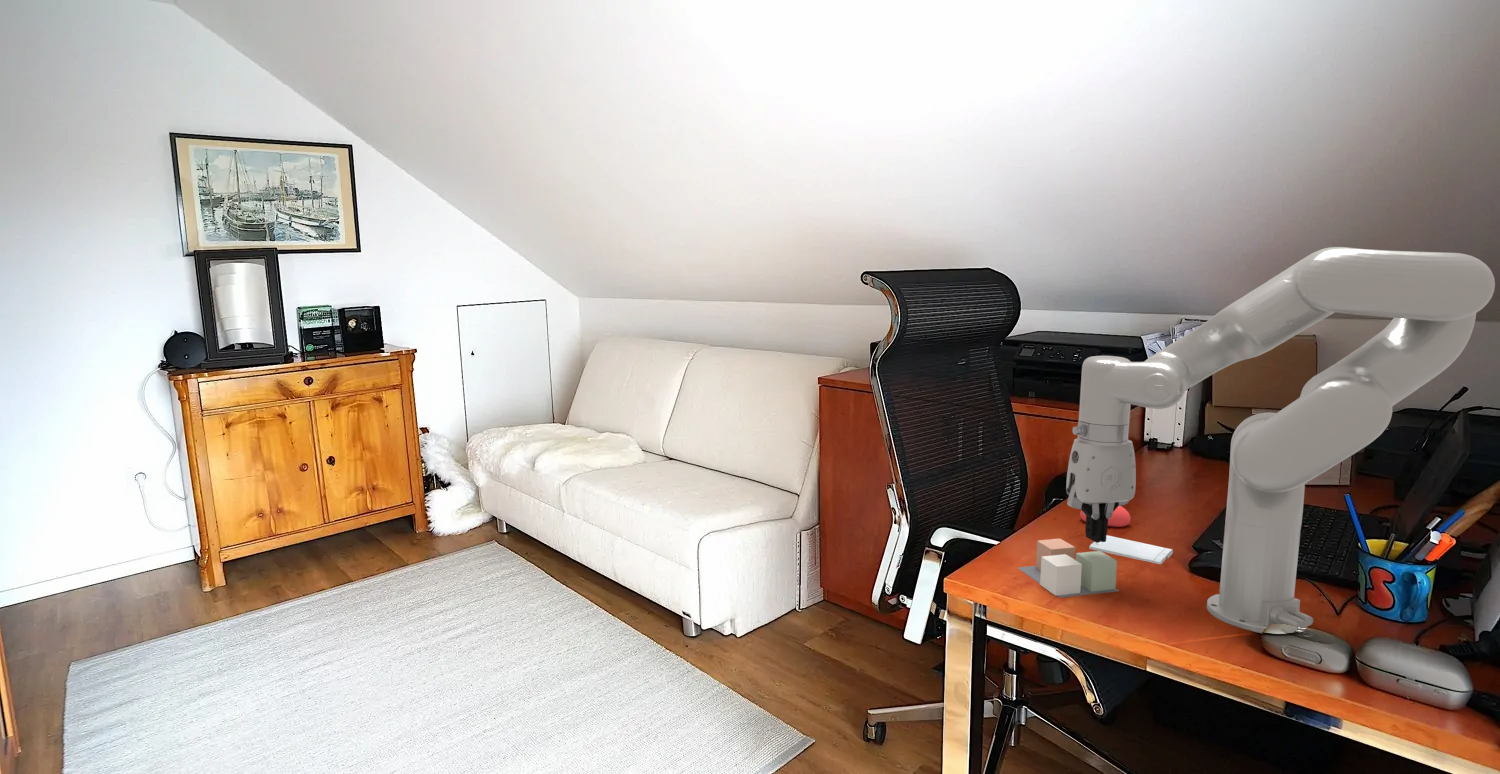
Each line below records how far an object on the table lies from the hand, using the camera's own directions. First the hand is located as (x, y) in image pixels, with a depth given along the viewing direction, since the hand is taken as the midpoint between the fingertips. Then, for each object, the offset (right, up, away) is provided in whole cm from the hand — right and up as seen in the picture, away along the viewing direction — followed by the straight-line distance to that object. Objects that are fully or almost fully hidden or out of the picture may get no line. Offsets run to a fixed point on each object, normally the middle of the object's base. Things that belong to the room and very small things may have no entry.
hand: (1095, 539), depth 131 cm
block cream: (-6, -8, 0) cm, 10 cm away
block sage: (0, -8, +1) cm, 8 cm away
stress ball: (+16, -3, +32) cm, 36 cm away
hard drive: (+14, -6, +17) cm, 23 cm away
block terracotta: (-4, -7, +7) cm, 11 cm away
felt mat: (-3, -8, +4) cm, 9 cm away
